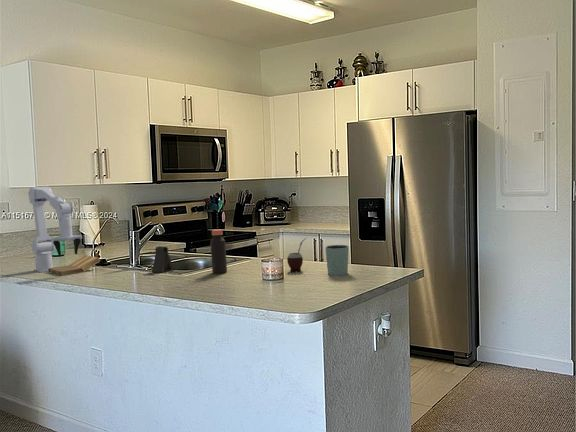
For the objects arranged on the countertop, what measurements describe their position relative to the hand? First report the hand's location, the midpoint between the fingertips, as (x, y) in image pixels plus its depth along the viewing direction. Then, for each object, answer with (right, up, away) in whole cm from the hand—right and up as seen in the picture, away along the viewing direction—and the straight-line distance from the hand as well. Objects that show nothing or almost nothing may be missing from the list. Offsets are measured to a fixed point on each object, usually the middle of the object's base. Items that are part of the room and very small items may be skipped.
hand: (67, 255), depth 280 cm
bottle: (+77, -7, -15) cm, 78 cm away
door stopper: (+48, -8, -2) cm, 48 cm away
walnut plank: (-5, -9, +9) cm, 14 cm away
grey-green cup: (+130, -6, -33) cm, 135 cm away
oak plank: (+3, -6, +16) cm, 18 cm away
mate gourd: (+113, -6, -21) cm, 115 cm away
